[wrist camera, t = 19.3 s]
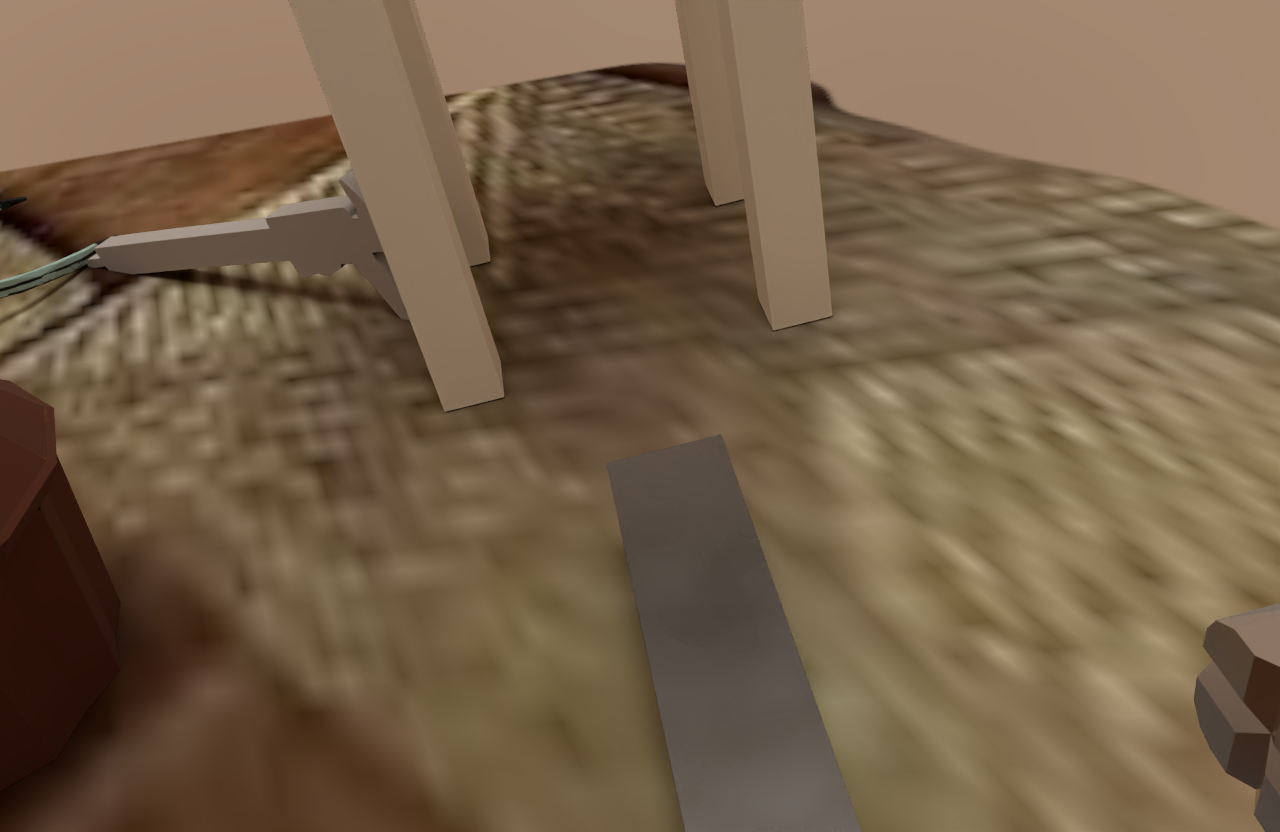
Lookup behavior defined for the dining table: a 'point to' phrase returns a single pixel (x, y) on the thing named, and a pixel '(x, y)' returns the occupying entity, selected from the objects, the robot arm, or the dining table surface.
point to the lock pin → (723, 651)
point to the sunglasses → (46, 272)
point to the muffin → (46, 595)
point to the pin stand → (444, 197)
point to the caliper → (267, 243)
